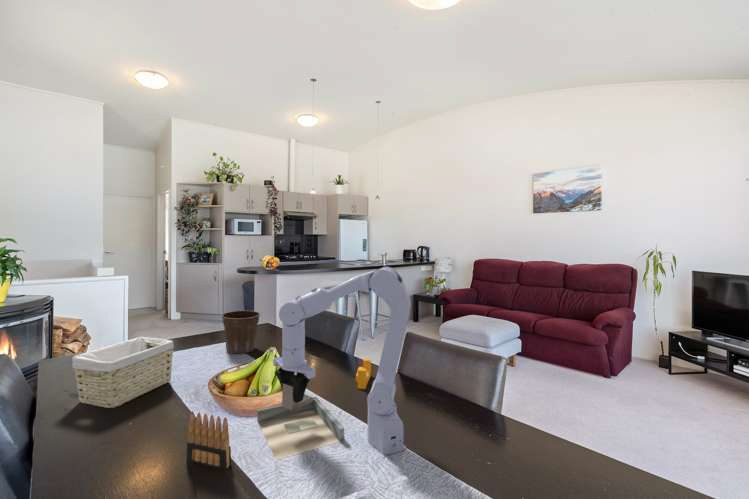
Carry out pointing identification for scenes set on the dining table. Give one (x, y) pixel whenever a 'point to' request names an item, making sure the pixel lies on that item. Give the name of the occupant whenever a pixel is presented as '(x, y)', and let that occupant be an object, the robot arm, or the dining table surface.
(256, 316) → the plant pot
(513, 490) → the dining table surface
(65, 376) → the dining table surface
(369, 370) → the pipe clamp
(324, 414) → the tray
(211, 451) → the ammunition clip
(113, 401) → the storage basket
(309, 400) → the bracket
